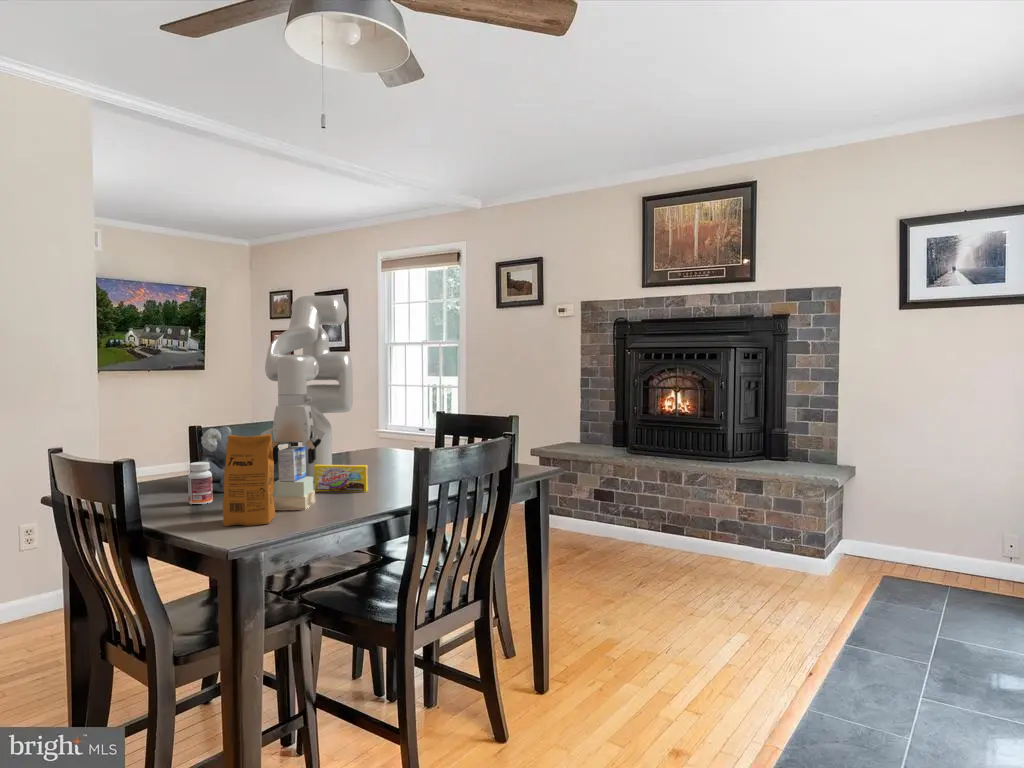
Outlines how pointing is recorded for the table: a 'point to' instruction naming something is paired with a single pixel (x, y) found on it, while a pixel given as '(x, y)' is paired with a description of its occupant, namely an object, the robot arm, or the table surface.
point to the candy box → (341, 477)
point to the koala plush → (216, 454)
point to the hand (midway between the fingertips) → (293, 463)
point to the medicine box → (292, 463)
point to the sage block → (293, 488)
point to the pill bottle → (200, 483)
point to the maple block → (294, 502)
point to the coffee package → (248, 481)
